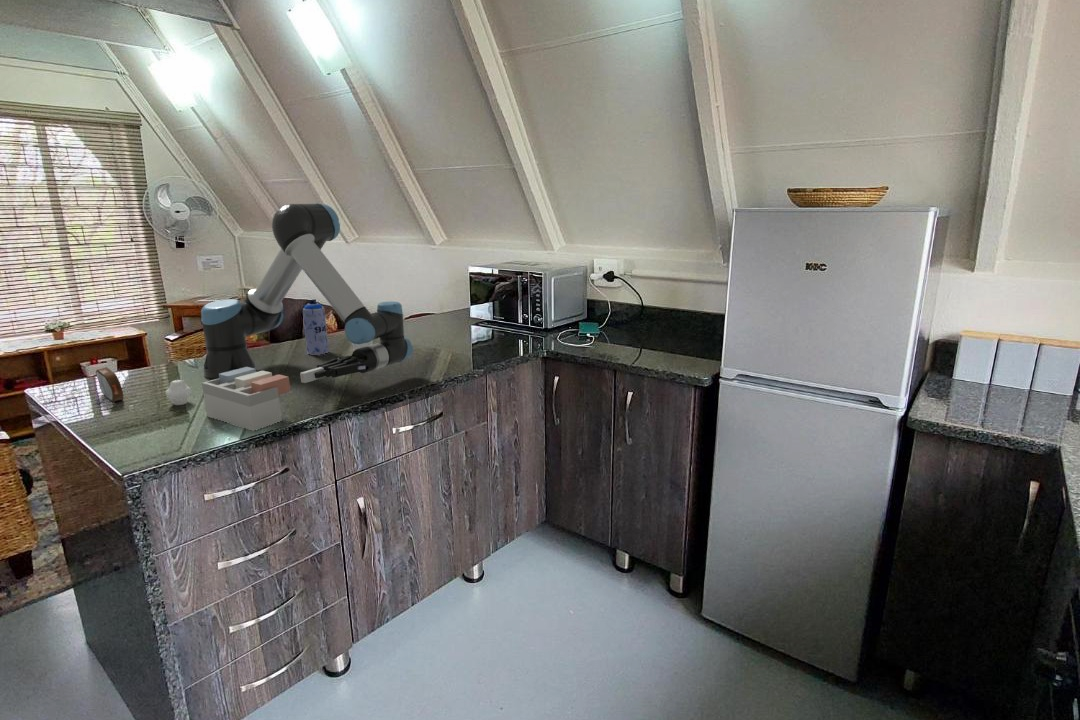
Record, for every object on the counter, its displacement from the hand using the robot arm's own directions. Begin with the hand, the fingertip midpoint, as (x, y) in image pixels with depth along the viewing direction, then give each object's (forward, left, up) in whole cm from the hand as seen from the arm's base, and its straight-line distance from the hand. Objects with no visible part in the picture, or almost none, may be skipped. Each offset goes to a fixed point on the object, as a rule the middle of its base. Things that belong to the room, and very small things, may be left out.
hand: (302, 377), depth 158 cm
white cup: (-3, +59, -9) cm, 60 cm away
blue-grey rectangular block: (-17, -1, -2) cm, 17 cm away
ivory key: (-11, -5, -2) cm, 12 cm away
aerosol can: (-20, +59, -9) cm, 63 cm away
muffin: (-37, +3, -9) cm, 38 cm away
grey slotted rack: (-13, -9, -9) cm, 18 cm away
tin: (-59, +7, -9) cm, 60 cm away
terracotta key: (-5, -8, -2) cm, 10 cm away
